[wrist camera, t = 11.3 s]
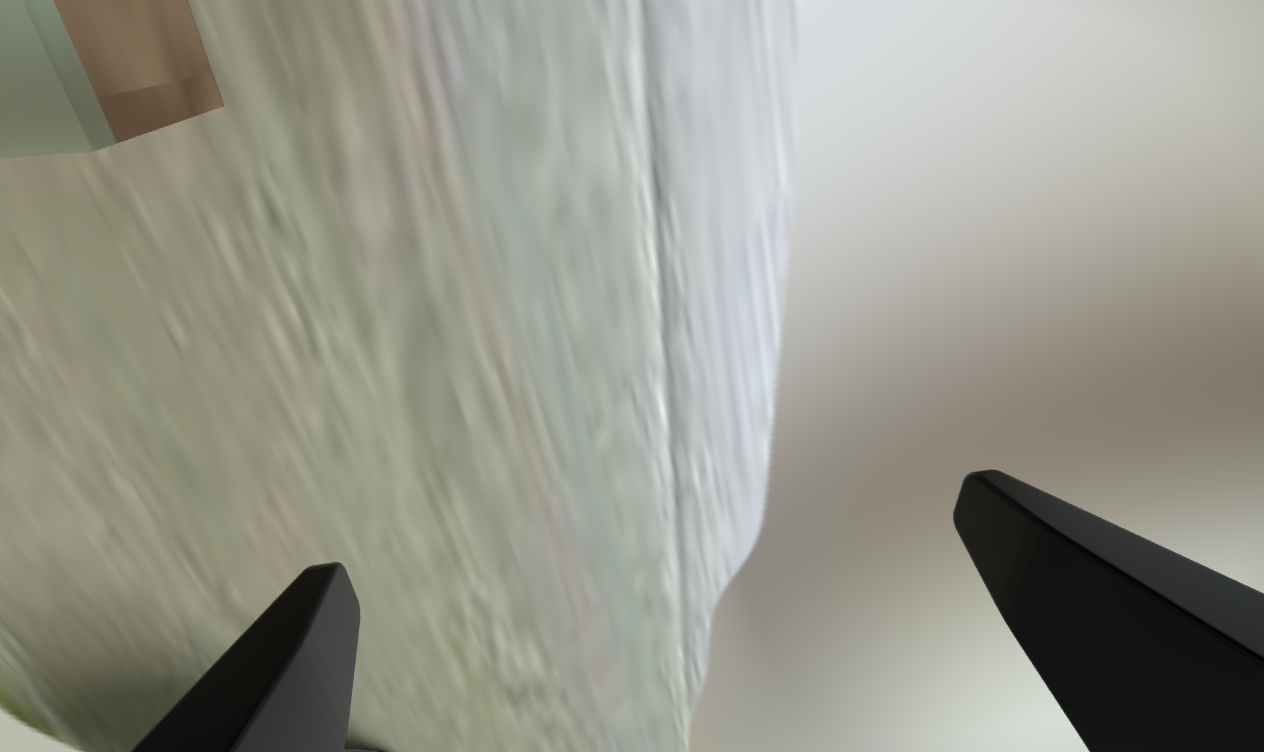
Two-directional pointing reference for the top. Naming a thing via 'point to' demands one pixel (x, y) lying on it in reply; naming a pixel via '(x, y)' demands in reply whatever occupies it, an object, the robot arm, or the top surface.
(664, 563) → the top surface
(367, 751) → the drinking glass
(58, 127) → the box
